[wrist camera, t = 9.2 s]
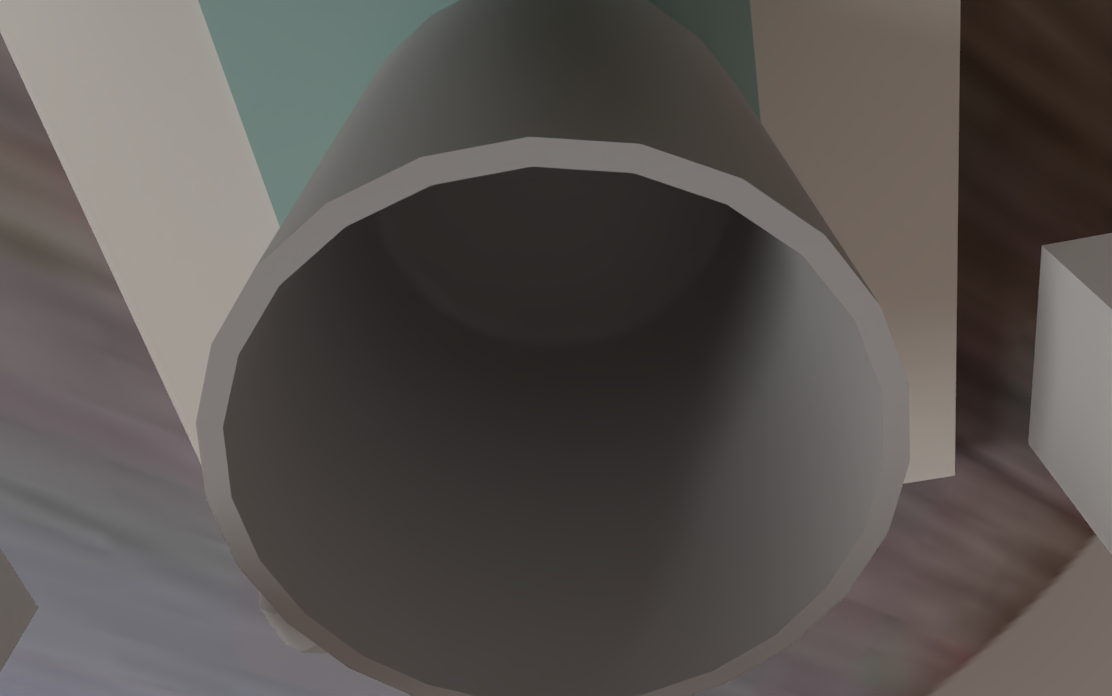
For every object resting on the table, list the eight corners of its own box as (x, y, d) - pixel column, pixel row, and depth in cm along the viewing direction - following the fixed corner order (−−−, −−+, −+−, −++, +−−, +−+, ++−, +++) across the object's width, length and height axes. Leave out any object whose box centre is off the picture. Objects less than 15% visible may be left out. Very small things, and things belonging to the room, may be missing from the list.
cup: (832, 163, 18) (1059, 453, 10) (482, 493, 21) (444, 894, 13) (531, -132, 15) (514, -56, 7) (194, 298, 19) (-53, 650, 11)
